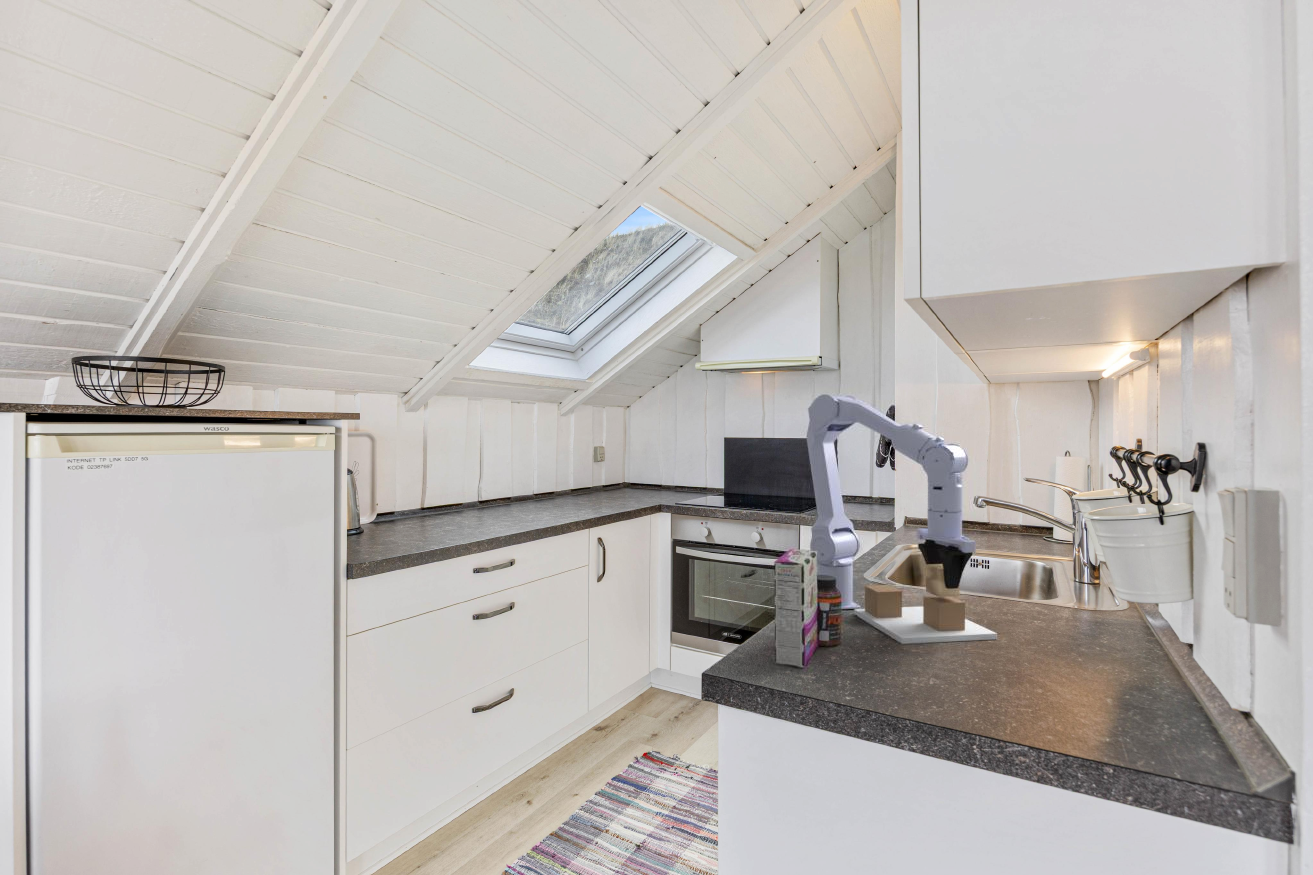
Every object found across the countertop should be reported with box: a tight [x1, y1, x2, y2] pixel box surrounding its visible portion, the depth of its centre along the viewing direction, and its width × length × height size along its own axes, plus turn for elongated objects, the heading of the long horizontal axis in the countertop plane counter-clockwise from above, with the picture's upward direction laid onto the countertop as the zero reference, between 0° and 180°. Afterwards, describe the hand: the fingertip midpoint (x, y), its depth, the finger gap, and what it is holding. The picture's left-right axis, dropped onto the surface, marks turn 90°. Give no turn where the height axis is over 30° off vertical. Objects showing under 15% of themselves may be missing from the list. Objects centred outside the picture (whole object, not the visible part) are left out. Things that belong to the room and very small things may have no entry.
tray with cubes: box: [853, 584, 998, 645], centre depth 120 cm, size 18×18×6 cm
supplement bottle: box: [817, 575, 842, 647], centre depth 111 cm, size 6×6×11 cm
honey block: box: [925, 563, 960, 597], centre depth 116 cm, size 4×4×5 cm
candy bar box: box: [773, 548, 819, 669], centre depth 104 cm, size 11×5×16 cm, turn 155°
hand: (944, 584), depth 116 cm, fingers closed on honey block, 4 cm apart
